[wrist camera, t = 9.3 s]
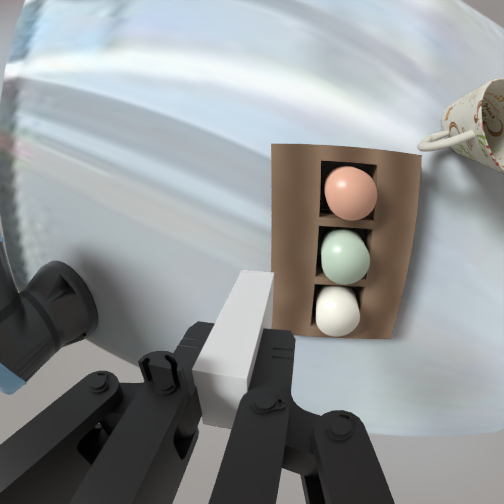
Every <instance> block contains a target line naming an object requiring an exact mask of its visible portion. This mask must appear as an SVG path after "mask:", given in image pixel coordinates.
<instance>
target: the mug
mask: <svg viewBox="0 0 504 504" xmlns="http://www.w3.org/2000/svg"><path fill="white" fill-rule="evenodd" d="M441 126H442V132H438V133H435V134H432V135H428V136H426V137H425V138H424V139H423V140H421V141H420V142H419V144H418V149H419V150H420V151H435V150H440V149H444V148H448V147H451V148H452V149H453V150H454V151H455V152H456V153H458V154H460V155H462V156H465V157H467V158H470V159H472V160H474V161H477V162H479V163H482V164H484V165H486V166H488V167H491V168H493V169H495V170H497V171H499V172H501V173H503V174H504V79H494V80H491V81H489V82H487V83H485V84H483V85H482V86H480V87H478V88H477V89H475V90H473V91H472V92H470V93H468V94H467V95H465V96H463V97H462V98H460V99H458V100H457V101H455V102H453V103H452V104H450V105H449V106H448V107H447V108H446V109H445V110H444V112H443V115H442V120H441ZM442 138H445V139H443V140H439V139H442ZM437 140H439V141H437Z"/></svg>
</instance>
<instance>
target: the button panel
mask: <svg viewBox="0 0 504 504" xmlns="http://www.w3.org/2000/svg"><path fill="white" fill-rule="evenodd" d="M421 157H422V155H416V154H409V153H402V152H395V151H387V150H378V149H369V148H358V147H346V146H331V145H311V144H271V158H272V252H271V272H274V290H273V314H272V325H271V329H278V330H290V331H291V332H292V334H293V335H301V336H316V337H334V338H361V339H390V338H391V335H392V332H393V328H394V325H395V321H396V318H397V314H398V310H399V306H400V303H401V299H402V294H403V290H404V286H405V281H406V277H407V272H408V267H409V262H410V257H411V251H412V245H413V239H414V233H415V226H416V218H417V210H418V201H419V190H420V177H421ZM321 160H322V161H339V162H353V163H364V164H370V172H369V176H370V177H371V178H372V180H373V181H374V183H375V185H376V188H377V201H376V204H375V207H374V208H373V210H372V211H371V212H370V213H369V214H368V215H367V216H366V217H364V218H362V219H359V220H354V221H350V220H345V219H342V218H340V217H338V216H337V215H335V214H334V213H333V212H332V210H322V209H320V183H321ZM319 226H333V227H349V228H364V229H365V237H364V244H365V246H366V248H367V250H368V253H369V256H370V265H369V269H368V271H367V273H366V274H365V275H364V277H363V278H361V279H360V280H359V281H357V282H355V283H352V284H347V285H342V284H337V283H335V282H333V281H331V280H330V279H329V278H328V277H327V276H326V275H325V273H324V271H323V268H322V263H316V261H317V247H318V231H319ZM315 284H324V285H342V286H358V288H357V294H356V300H357V304H358V308H359V313H360V320H359V323H358V325H357V327H356V328H355V329H354V330H353V331H352V332H350V333H349V334H346V335H344V336H336V337H335V336H329V335H327V334H325V333H323V332H322V331H321V330H320V329H319V328H318V326H317V323H316V309H312V306H313V296H314V285H315Z"/></svg>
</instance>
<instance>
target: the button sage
mask: <svg viewBox="0 0 504 504" xmlns="http://www.w3.org/2000/svg"><path fill="white" fill-rule="evenodd" d="M321 258H322V268H323V271H324V273H325V275H326V276H327V277H328V278H329V279H330V280H331V281H333V282H335V283H337V284H342V285H347V284H352V283H355V282H357V281H359V280H360V279H361V278H363V277H364V275H365V274H366V273H367V271H368V269H369V265H370V256H369V253H368V250H367V248H366V246H365V244H364V242H363V240H362V239H361V237H360V235H359V234H358V233H357V231H355V230H354V229H352V228H349V227H335V228H333V229H331V230H329V231H328V232H327V233H326V234H325V236H324V237H323V239H322V242H321Z"/></svg>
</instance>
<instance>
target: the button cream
mask: <svg viewBox="0 0 504 504" xmlns="http://www.w3.org/2000/svg"><path fill="white" fill-rule="evenodd" d="M359 320H360V313H359V308H358V304H357V300H356V296H355V292H354V290H353V288H352V287H351V286H342V285H323V286H322V287H321V288H320V289H319V291H318V293H317V297H316V323H317V326H318V328H319V329H320V330H321V331H322V332H323V333H325V334H327V335H329V336H335V337H336V336H344V335H346V334H349V333H350V332H352V331H353V330H354V329H355V328H356V327H357V325H358V323H359Z"/></svg>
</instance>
